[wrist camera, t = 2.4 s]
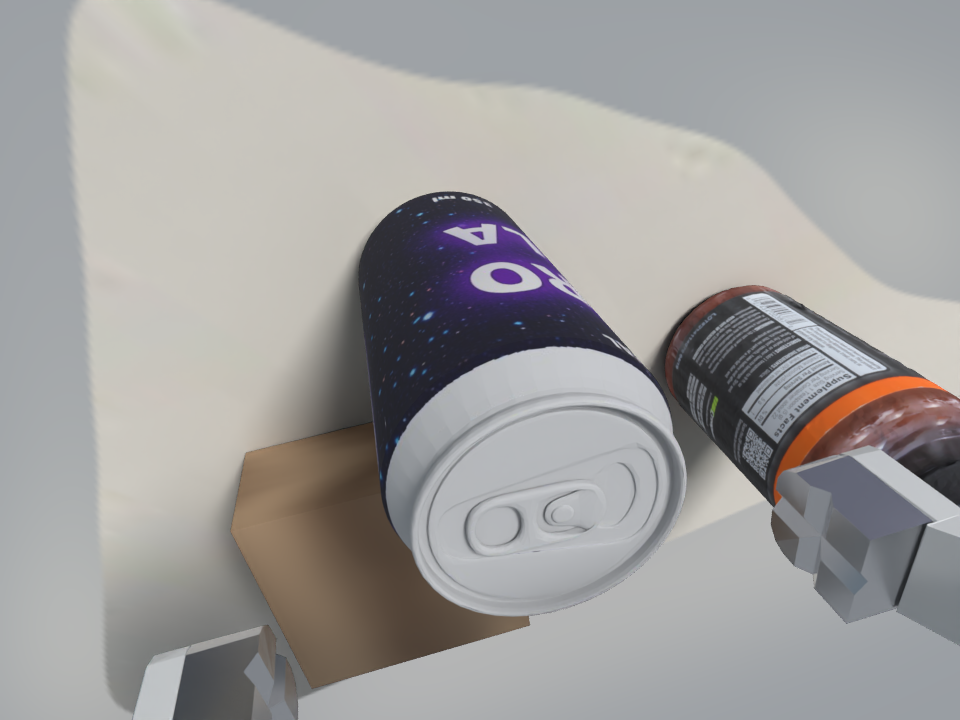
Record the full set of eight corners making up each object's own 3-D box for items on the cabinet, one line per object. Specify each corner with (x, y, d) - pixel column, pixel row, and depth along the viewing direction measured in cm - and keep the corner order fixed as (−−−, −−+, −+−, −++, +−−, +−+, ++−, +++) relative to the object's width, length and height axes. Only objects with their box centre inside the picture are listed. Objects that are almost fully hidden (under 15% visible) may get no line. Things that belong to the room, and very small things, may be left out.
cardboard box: (478, 396, 23) (504, 460, 20) (505, 551, 28) (529, 625, 24) (245, 452, 22) (230, 531, 19) (314, 604, 27) (311, 688, 23)
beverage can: (525, 328, 22) (691, 591, 12) (373, 354, 21) (412, 662, 11) (518, 173, 19) (730, 347, 9) (342, 197, 18) (355, 417, 8)
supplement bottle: (805, 355, 26) (1086, 553, 16) (687, 429, 26) (890, 661, 17) (768, 249, 23) (1088, 417, 13) (635, 336, 23) (848, 556, 14)
